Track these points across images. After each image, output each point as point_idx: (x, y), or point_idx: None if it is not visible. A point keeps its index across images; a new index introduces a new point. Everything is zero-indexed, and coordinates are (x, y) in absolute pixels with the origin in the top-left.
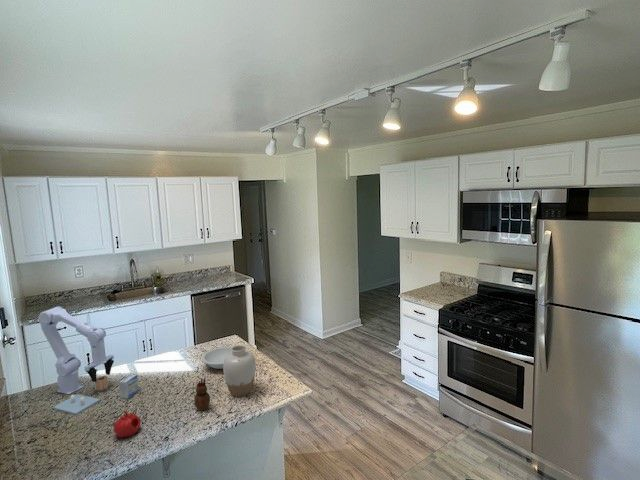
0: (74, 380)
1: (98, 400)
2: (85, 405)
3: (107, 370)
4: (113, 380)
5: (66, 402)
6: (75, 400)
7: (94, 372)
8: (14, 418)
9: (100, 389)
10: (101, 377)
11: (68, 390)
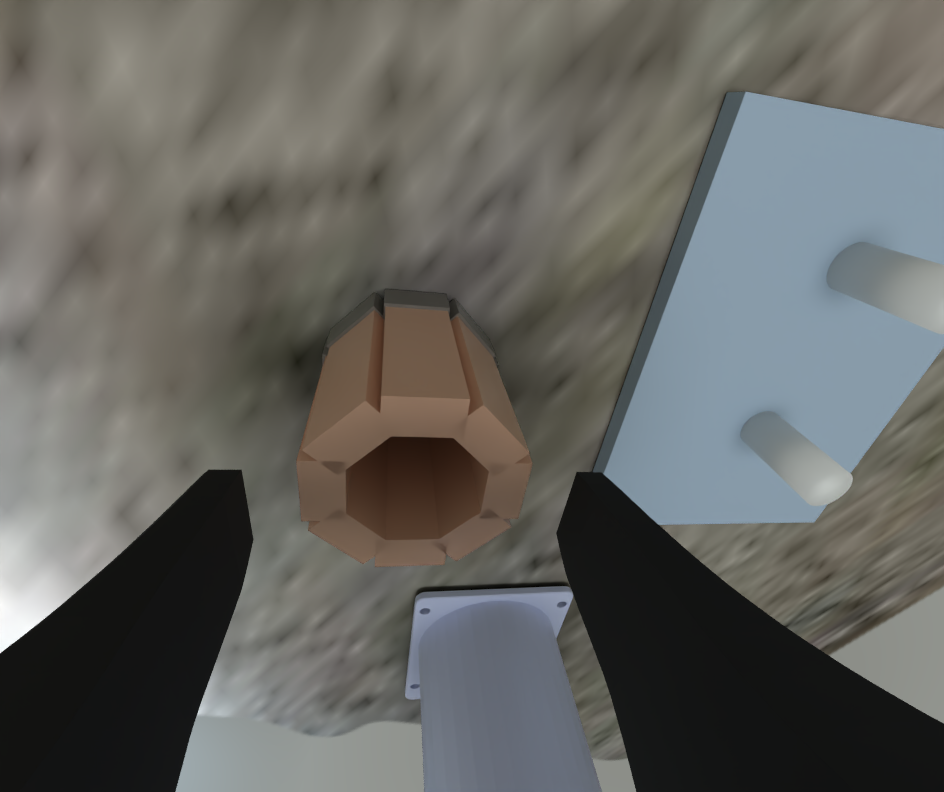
0: (529, 718)
1: (778, 98)
2: (893, 200)
3: (201, 601)
4: (139, 433)
5: (750, 485)
6: (720, 439)
7: (876, 718)
8: (867, 609)
9: (485, 349)
10: (369, 528)
11: (551, 631)
